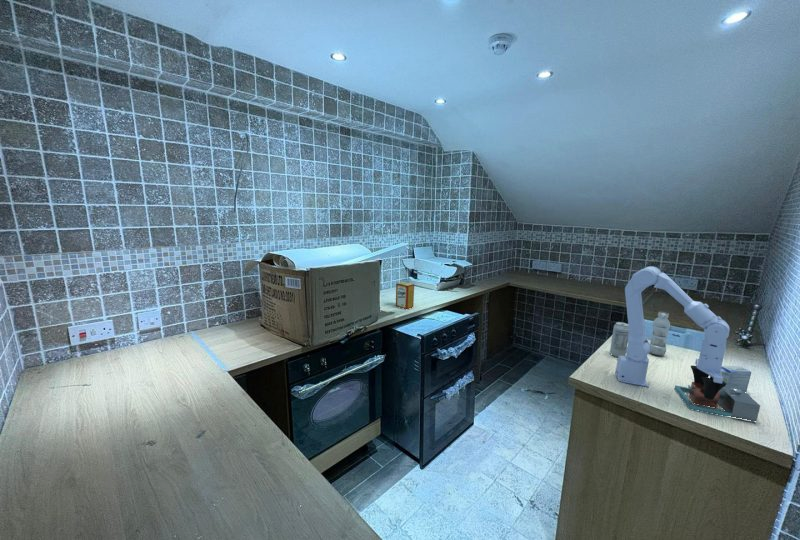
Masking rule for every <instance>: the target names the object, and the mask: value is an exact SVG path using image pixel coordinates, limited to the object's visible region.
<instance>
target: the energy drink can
mask: <svg viewBox="0 0 800 540" xmlns="http://www.w3.org/2000/svg"><path fill="white" fill-rule="evenodd" d="M612 329H613V330H612V336H611V343H610V348H609V353H610V355H611V354H612V355H613V356H612V355H611V356H612V357H615V358H618V357H619V356H626V348H627V347H628V338H629V326H628V323H626V322H622V321H617V322H615V323H614V325H613V328H612Z"/></svg>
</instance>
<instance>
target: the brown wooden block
mask: <svg viewBox="0 0 800 540" xmlns="http://www.w3.org/2000/svg"><path fill="white" fill-rule="evenodd" d="M687 388H691V389H690V393H688V399H689V400H690V399H691V400H690V401H691V402H692V404H693V403H695V404H694V405H697V404H699V405H698V406H702V405H705V406H704V407H706V406H710V407H709V408H711V407H715V408H714V409H718V408H717V407H718V405H719V404H718V399H719V395H720V392H719V391H718V393H717V394H716V396H715V397H714V399H713V400H712V399H707V398H705V397H704V384H701V383H696V382H694V381H691V384H688V386H687Z"/></svg>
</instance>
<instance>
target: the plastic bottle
mask: <svg viewBox="0 0 800 540" xmlns="http://www.w3.org/2000/svg"><path fill="white" fill-rule="evenodd" d="M669 315H670V313H669V312H666V311H658V314H657V316H658V317H656V318H655V319H654V320H653V322H652V335H651V336H652V337H651V339H650V341H649V344H650V345H651V352H650V353H649V354H652V355H654V356H658V357H659V356H660V357H661V356H665V355H666V352H667V338H668V334H669V332H670V328H671V326H672V325H671V322H670V321H669V319H668V318H669V317H670V316H669Z"/></svg>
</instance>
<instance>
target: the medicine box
mask: <svg viewBox="0 0 800 540" xmlns="http://www.w3.org/2000/svg"><path fill="white" fill-rule="evenodd" d="M721 369H723V370H724V371H725V373H722V377H723V381H724V382H726V383H731V384H736V385H738V386H739V387H740V388H741V389H742V390H743V391H744V392H746V393H747V392H748V387H749V384H750V379H751V374H752V371H751V370H749V369H747V368H745V367H742V366H741V365H722V367H721Z"/></svg>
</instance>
